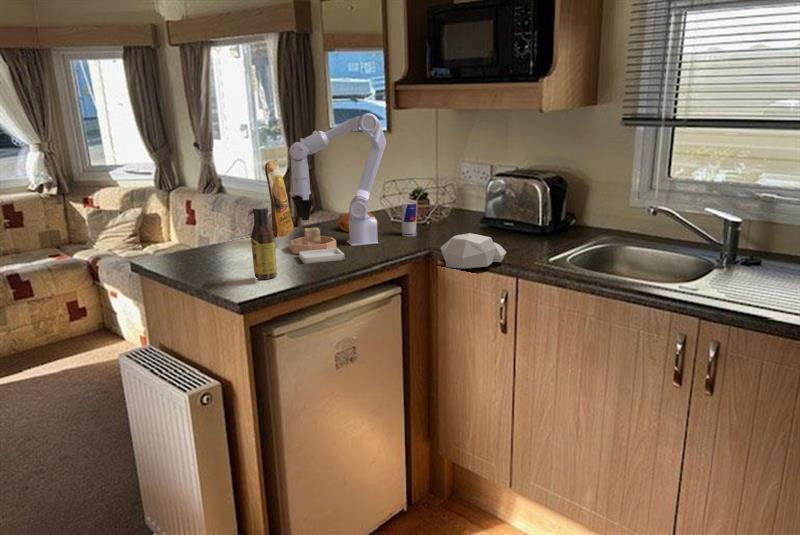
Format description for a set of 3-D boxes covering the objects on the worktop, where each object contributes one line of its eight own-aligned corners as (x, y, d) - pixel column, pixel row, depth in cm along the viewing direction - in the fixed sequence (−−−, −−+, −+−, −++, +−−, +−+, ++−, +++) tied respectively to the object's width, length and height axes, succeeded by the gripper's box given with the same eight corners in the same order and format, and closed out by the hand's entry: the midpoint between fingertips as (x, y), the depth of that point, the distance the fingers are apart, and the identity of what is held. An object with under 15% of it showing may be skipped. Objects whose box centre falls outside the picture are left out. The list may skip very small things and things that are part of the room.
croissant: (365, 226, 241) (364, 206, 239) (384, 232, 228) (383, 211, 226) (332, 230, 234) (331, 209, 232) (350, 236, 221) (349, 215, 219)
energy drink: (415, 237, 217) (414, 204, 214) (400, 237, 218) (400, 204, 215) (418, 234, 222) (417, 202, 219) (403, 234, 223) (403, 201, 220)
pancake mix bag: (264, 240, 218) (257, 162, 211) (281, 230, 236) (276, 158, 229) (282, 240, 217) (276, 162, 210) (298, 230, 235) (293, 158, 228)
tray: (337, 253, 195) (337, 248, 195) (344, 259, 186) (344, 254, 186) (299, 257, 191) (298, 251, 191) (304, 263, 182) (303, 258, 182)
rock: (438, 257, 187) (438, 226, 185) (502, 256, 187) (503, 225, 185) (442, 272, 170) (442, 239, 167) (513, 271, 170) (514, 237, 167)
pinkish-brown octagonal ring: (330, 243, 211) (329, 234, 210) (339, 251, 197) (339, 242, 196) (288, 247, 206) (287, 238, 205) (295, 256, 193) (294, 247, 192)
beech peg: (318, 247, 204) (317, 227, 203) (321, 250, 200) (319, 229, 199) (305, 248, 203) (304, 228, 201) (308, 251, 199) (306, 230, 197)
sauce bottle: (256, 275, 171) (250, 205, 166) (278, 274, 172) (273, 204, 167) (252, 281, 165) (246, 209, 160) (275, 280, 165) (270, 208, 160)
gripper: (285, 177, 208) (288, 216, 212) (292, 181, 195) (295, 222, 199) (305, 176, 211) (308, 214, 214) (313, 179, 197) (316, 220, 201)
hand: (303, 218), depth 206 cm, fingers open, 7 cm apart
